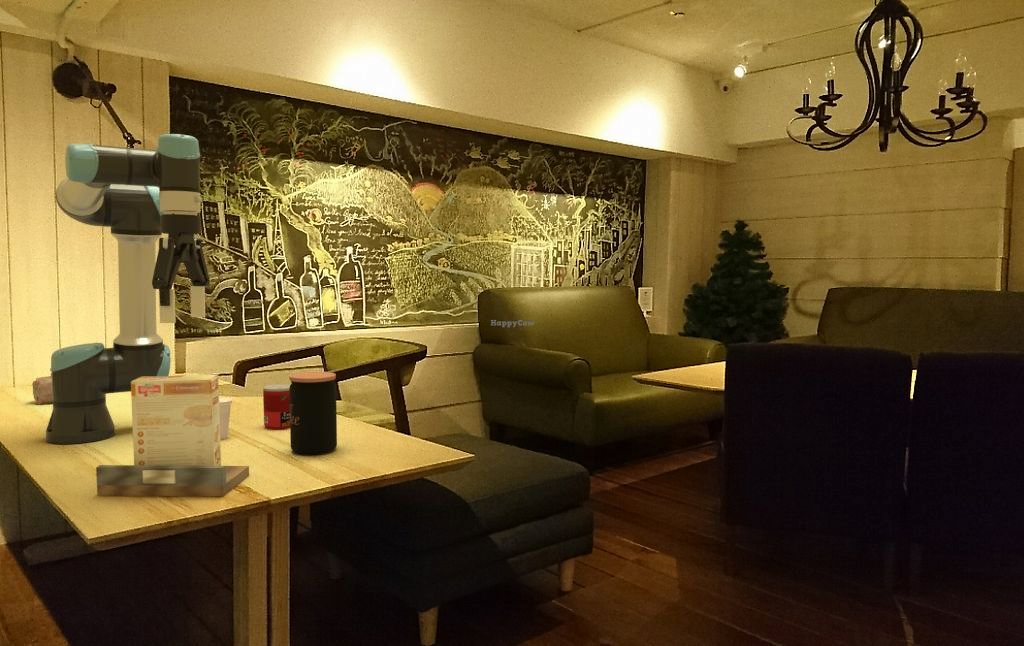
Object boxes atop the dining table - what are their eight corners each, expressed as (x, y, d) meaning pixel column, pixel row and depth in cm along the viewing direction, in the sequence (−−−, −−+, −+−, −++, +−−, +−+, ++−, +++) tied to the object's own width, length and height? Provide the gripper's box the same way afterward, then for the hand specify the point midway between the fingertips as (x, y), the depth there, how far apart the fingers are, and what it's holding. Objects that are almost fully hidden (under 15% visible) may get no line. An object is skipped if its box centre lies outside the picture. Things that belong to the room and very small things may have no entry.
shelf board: (96, 496, 143) (94, 467, 142) (134, 474, 157) (133, 448, 157) (222, 496, 143) (221, 468, 142) (249, 475, 157) (248, 449, 157)
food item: (34, 406, 230) (33, 374, 229) (32, 402, 237) (31, 371, 236) (85, 401, 238) (84, 370, 237) (82, 398, 245) (81, 367, 244)
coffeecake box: (222, 466, 156) (219, 373, 155) (214, 476, 149) (211, 379, 148) (144, 470, 154) (141, 375, 152) (133, 480, 147) (129, 380, 145)
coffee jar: (295, 445, 183) (294, 371, 181) (340, 444, 184) (339, 371, 182) (286, 456, 172) (284, 378, 171) (333, 455, 173) (332, 378, 172)
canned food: (285, 430, 198) (285, 389, 198) (258, 429, 200) (257, 388, 199) (299, 424, 206) (299, 384, 205) (273, 423, 207) (272, 383, 207)
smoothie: (226, 433, 195) (225, 380, 193) (237, 438, 190) (236, 383, 189) (201, 437, 190) (200, 382, 189) (212, 442, 185) (210, 386, 184)
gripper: (169, 210, 138) (173, 325, 140) (224, 217, 163) (226, 315, 165) (129, 210, 138) (133, 325, 140) (189, 217, 163) (192, 314, 165)
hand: (183, 320), depth 152 cm, fingers open, 13 cm apart
